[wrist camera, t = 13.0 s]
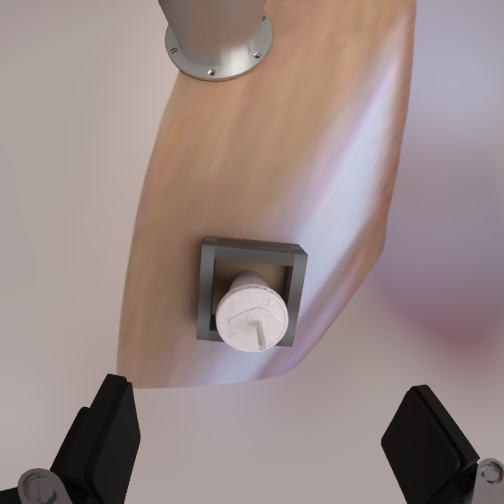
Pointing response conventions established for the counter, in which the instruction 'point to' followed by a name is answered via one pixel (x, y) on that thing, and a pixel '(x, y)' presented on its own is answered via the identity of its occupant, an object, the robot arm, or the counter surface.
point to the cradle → (255, 259)
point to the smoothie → (251, 314)
